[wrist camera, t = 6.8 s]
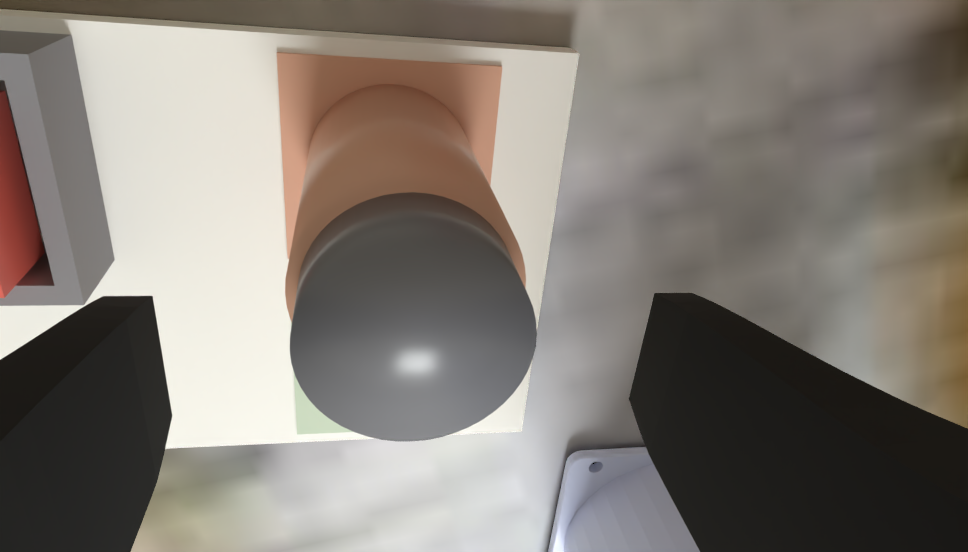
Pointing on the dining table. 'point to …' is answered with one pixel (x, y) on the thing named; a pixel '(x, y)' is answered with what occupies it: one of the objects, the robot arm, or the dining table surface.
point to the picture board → (238, 186)
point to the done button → (15, 209)
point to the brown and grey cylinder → (403, 273)
